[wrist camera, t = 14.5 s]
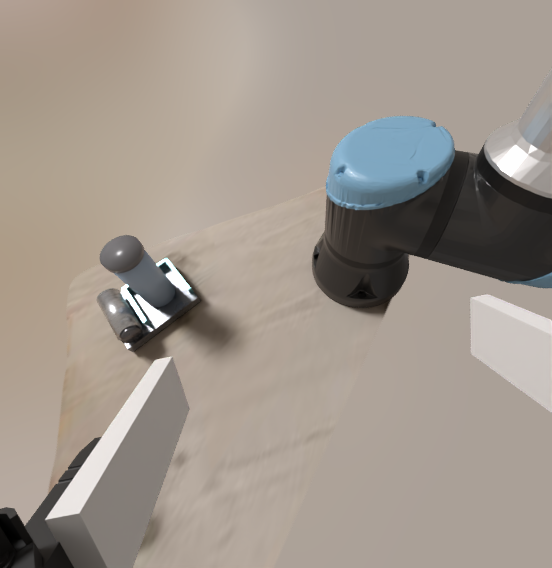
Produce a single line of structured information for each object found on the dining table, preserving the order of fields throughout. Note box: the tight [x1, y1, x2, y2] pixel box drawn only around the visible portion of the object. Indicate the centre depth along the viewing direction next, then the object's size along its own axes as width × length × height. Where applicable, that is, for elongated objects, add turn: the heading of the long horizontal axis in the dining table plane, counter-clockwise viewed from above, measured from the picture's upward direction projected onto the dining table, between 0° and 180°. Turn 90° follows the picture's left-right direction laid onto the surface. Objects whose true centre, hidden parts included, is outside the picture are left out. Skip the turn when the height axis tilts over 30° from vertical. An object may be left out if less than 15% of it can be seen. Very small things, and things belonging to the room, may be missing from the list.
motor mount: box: [97, 257, 201, 352], centre depth 47 cm, size 13×10×5 cm
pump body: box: [100, 235, 175, 307], centre depth 43 cm, size 5×5×12 cm
